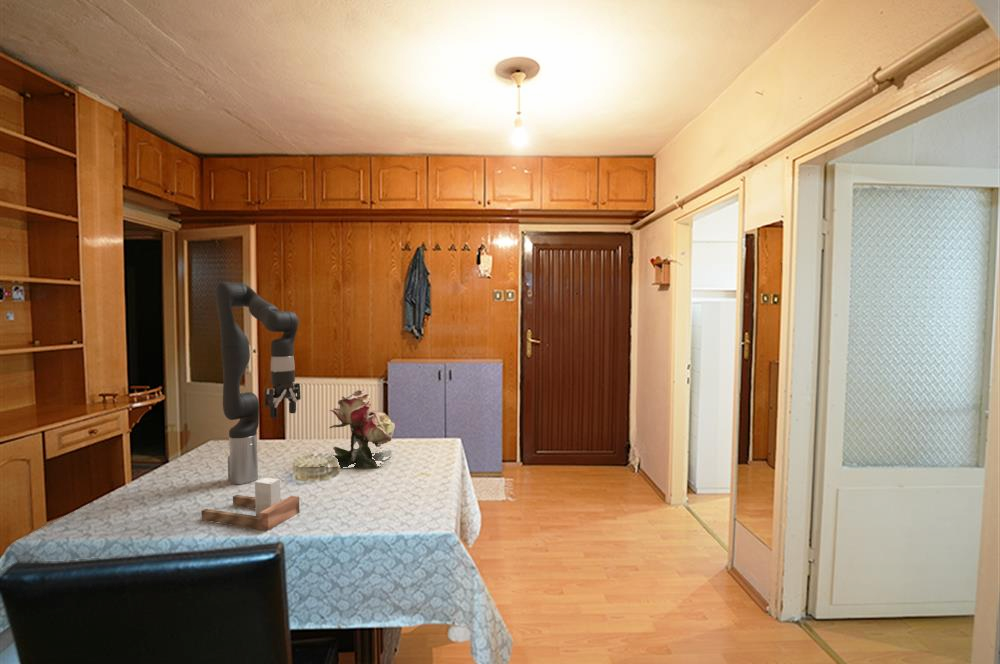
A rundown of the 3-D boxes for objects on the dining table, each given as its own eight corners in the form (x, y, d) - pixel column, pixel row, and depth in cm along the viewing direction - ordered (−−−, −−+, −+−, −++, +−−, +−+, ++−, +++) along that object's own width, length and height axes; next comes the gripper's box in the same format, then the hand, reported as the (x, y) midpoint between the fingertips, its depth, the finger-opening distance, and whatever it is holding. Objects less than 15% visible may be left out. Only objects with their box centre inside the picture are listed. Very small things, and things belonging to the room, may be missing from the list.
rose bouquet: (391, 468, 189) (390, 395, 188) (319, 469, 188) (318, 396, 187) (403, 450, 214) (402, 386, 213) (339, 451, 214) (338, 386, 213)
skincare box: (281, 517, 144) (280, 479, 143) (271, 522, 140) (270, 483, 139) (265, 514, 145) (264, 477, 145) (255, 520, 141) (254, 481, 141)
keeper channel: (201, 520, 142) (201, 504, 141) (236, 503, 154) (236, 488, 154) (268, 530, 135) (268, 513, 134) (299, 512, 147) (299, 496, 147)
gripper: (288, 366, 167) (289, 411, 168) (257, 371, 154) (258, 419, 154) (306, 367, 165) (306, 412, 166) (276, 372, 152) (277, 421, 152)
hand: (283, 415), depth 160 cm, fingers open, 8 cm apart
